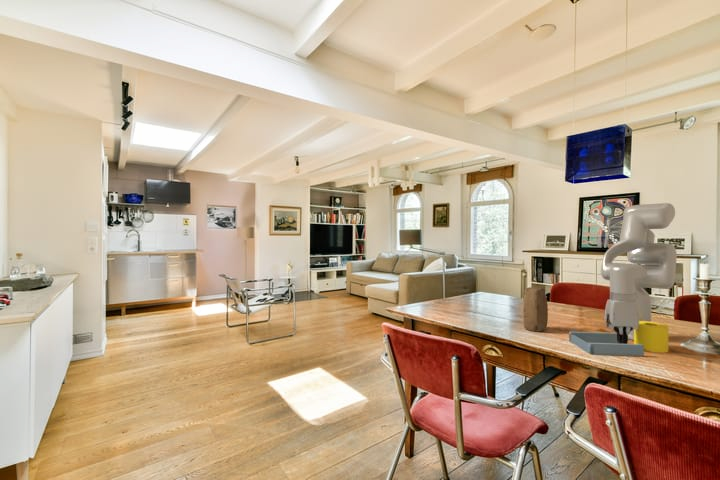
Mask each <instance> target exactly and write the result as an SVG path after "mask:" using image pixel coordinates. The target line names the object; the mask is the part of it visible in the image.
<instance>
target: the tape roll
mask: <svg viewBox="0 0 720 480" xmlns="http://www.w3.org/2000/svg"><path fill="white" fill-rule="evenodd" d="M633 344H642V345H644V351H646V352H652V353H659V354H660V353H661V354H664V353H668V352H669V325H667V324H663V323H659V322H655V321H651V322H649V321H639V325H638V329H635V330H634V340H633Z"/></svg>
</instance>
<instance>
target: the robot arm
mask: <svg viewBox="0 0 720 480" xmlns="http://www.w3.org/2000/svg"><path fill="white" fill-rule="evenodd" d="M622 213H623V215H622V216H623V218H622V224H621V230H620V235H619V240H618V241H617V242H616V243H614V244H612V245H611V246H610V247H608V249H607V250H606V251H605V253H604V255H603V256H602V257H603V258H602V262H601V265H600V267H601V268H600V275H601V277H602V278H603V279H604V280H605V281H609V299H607V300H606V304H605V307H604V308H605V309H604V310H605V311H604V322H605V323H606V328H607V329H609V330H613V331H614V333H617V341H618V343H617V344H628V341H629V340H631V341H634V330H635V329H638V325H639V321H649V322H652V298H651V295H650V294H649V293H648V291H647V290H645V288H646V289H647V288H649V289H660V290H669V289H672V288H673V286H674V285H675V281H676V269H677V258H678V257H677V255H678V254H677V249H676V247H675V246H674V245H673V244H672V243H666V242H655V237H656V236H655V233H654V232H653V231H652V230H663V229H667V228H668V227H669V226H670V224H671V223H672V222H673V220H674V219H675V215H676V210H675V207H674V205H673V204H672V203H669V202H668V203H667V202H663V203H649V204H646V203H645V204H635V205H629V206H627V207H625V208H624V210H623V212H622ZM623 254H627V255H626V258H627V260H628V261H629V263H626V262H625V263H624V262H623V263H622V262H613V261H614V260H615V259H616V258H617V257H619V256H621V255H623Z"/></svg>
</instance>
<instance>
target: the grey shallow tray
mask: <svg viewBox="0 0 720 480" xmlns="http://www.w3.org/2000/svg"><path fill="white" fill-rule="evenodd" d="M568 334H569V335H568V338H569V339H568V340H569V342H570V343H572V344H574V345H575V346H576V347H578V348H580V349H582V350H583V351H585V352H586V353H587V354H590V355H597V356H599V355H602V356H624V357H625V356H628V357H629V356H630V357H644V355H645V353H644V351H645V350H644V345H642V344H634V343H627V344H620V343H618V341H617V332H600V331H598V332H597V331H596V332H594V331H593V332H592V331H569V333H568Z"/></svg>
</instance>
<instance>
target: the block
mask: <svg viewBox="0 0 720 480" xmlns="http://www.w3.org/2000/svg"><path fill="white" fill-rule="evenodd" d="M522 304H523V306H522V307H523V309H522V310H523V312H522V313H523V317H522V318H523V327H524V329H525V330H528V331H530V332H534V333H535V332H536V333H537V332H538V333H540V332H543V331H544V330H546V328H547V326H548V319H549V318H548V317H549V316H548V315H549V314H548V313H549V312H548V311H549V309H548V306H549V305H548V299H547V295H546V289H545V288H544V287H540V286H539V287H538V286H532V287H527V288H525V289H524V296H523V303H522Z"/></svg>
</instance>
